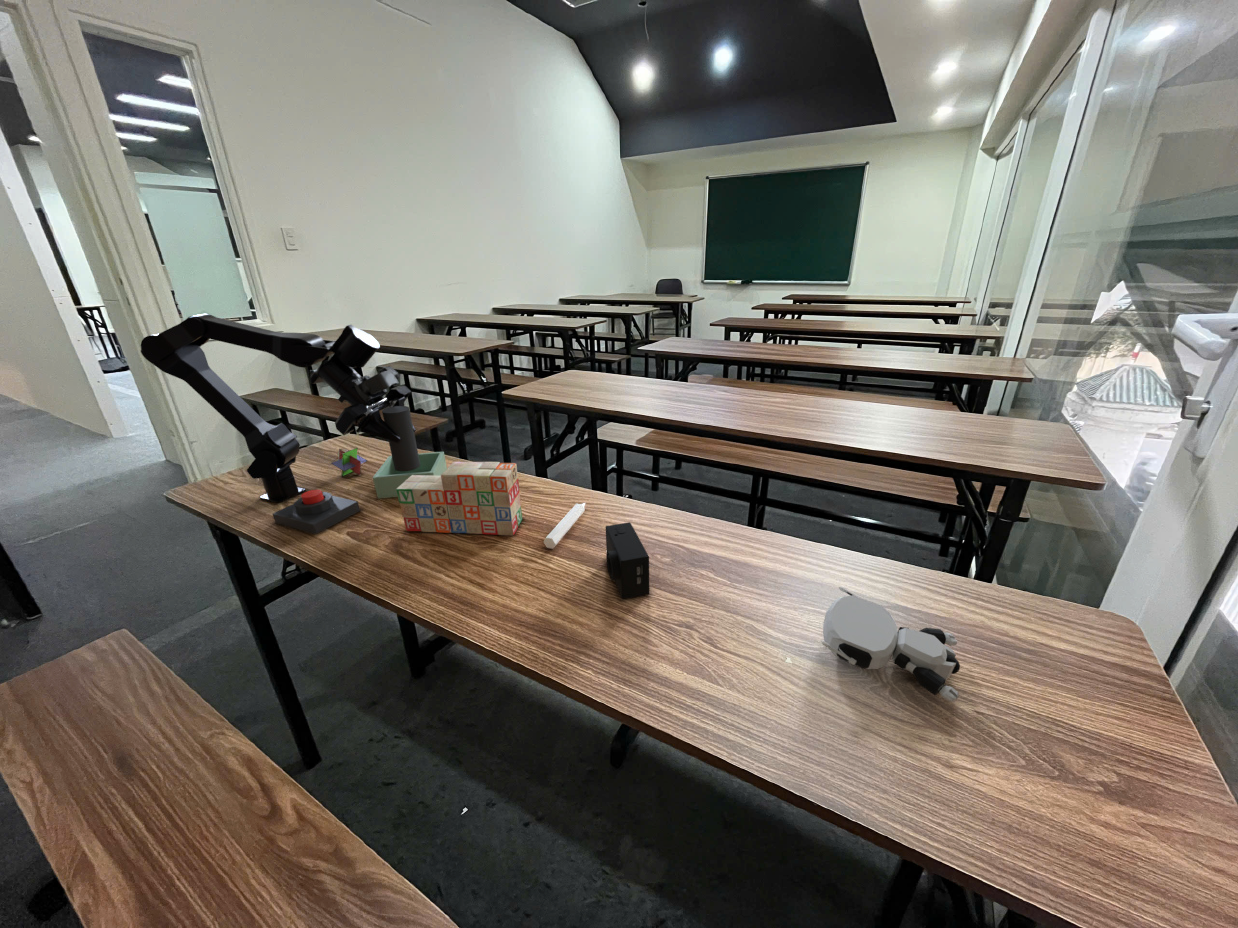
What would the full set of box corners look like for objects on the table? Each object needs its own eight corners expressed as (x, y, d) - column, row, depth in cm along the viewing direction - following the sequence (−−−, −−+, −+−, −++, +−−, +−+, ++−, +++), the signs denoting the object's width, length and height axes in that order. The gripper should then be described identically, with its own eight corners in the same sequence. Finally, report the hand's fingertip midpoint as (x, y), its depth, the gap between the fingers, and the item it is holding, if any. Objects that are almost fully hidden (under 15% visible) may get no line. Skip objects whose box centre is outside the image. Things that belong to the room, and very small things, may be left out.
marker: (586, 510, 99) (551, 551, 85) (577, 504, 99) (541, 544, 85) (591, 501, 98) (557, 541, 84) (583, 495, 98) (547, 534, 84)
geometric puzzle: (378, 463, 118) (357, 436, 117) (354, 474, 112) (332, 446, 111) (365, 476, 121) (345, 450, 121) (341, 487, 116) (320, 460, 115)
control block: (275, 523, 96) (269, 505, 94) (321, 501, 104) (316, 484, 103) (316, 534, 91) (310, 516, 90) (360, 510, 100) (355, 493, 98)
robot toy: (951, 651, 62) (829, 605, 69) (963, 625, 60) (836, 580, 67) (952, 724, 52) (810, 663, 59) (966, 696, 50) (818, 636, 57)
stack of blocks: (405, 532, 91) (391, 473, 86) (420, 516, 97) (408, 460, 92) (514, 535, 89) (506, 475, 84) (523, 518, 95) (516, 461, 90)
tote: (377, 498, 105) (372, 477, 103) (393, 475, 116) (389, 455, 114) (437, 493, 106) (433, 472, 104) (447, 470, 118) (443, 451, 116)
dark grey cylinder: (391, 472, 102) (378, 413, 97) (399, 462, 107) (387, 406, 102) (416, 471, 102) (404, 412, 97) (423, 461, 107) (412, 405, 102)
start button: (299, 503, 96) (296, 495, 95) (316, 495, 99) (313, 488, 98) (311, 506, 94) (309, 498, 94) (328, 498, 97) (325, 491, 97)
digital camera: (599, 562, 81) (598, 526, 78) (630, 556, 82) (630, 521, 79) (614, 601, 71) (613, 562, 69) (649, 594, 73) (649, 555, 70)
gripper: (333, 366, 87) (399, 426, 90) (395, 348, 104) (449, 399, 107) (307, 406, 92) (371, 462, 94) (370, 383, 109) (423, 431, 111)
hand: (407, 436), depth 101 cm, fingers closed on dark grey cylinder, 5 cm apart
